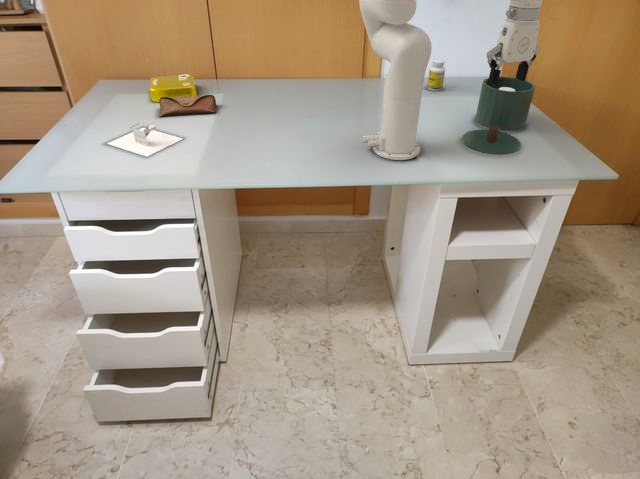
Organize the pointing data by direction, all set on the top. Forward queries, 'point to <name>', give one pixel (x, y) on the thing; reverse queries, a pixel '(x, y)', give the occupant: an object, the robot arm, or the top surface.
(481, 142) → the lid
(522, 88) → the tin
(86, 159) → the top surface
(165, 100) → the sunglasses case
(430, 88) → the supplement bottle
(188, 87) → the yellow plastic box
